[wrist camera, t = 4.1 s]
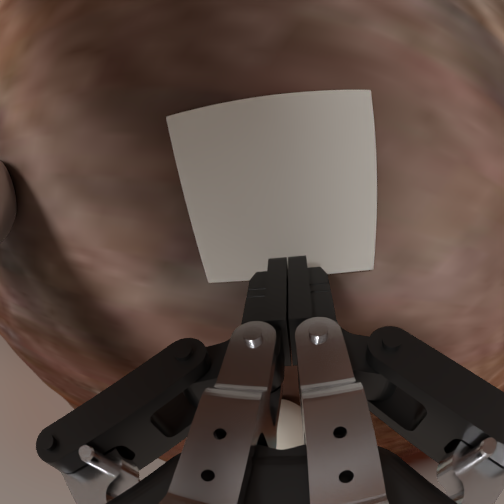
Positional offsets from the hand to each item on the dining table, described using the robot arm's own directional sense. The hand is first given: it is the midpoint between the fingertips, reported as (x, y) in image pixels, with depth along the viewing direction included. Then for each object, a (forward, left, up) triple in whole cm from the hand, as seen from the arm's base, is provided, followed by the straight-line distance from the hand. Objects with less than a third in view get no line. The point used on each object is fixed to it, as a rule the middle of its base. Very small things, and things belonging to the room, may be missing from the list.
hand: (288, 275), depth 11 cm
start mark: (-3, 0, -2) cm, 3 cm away
